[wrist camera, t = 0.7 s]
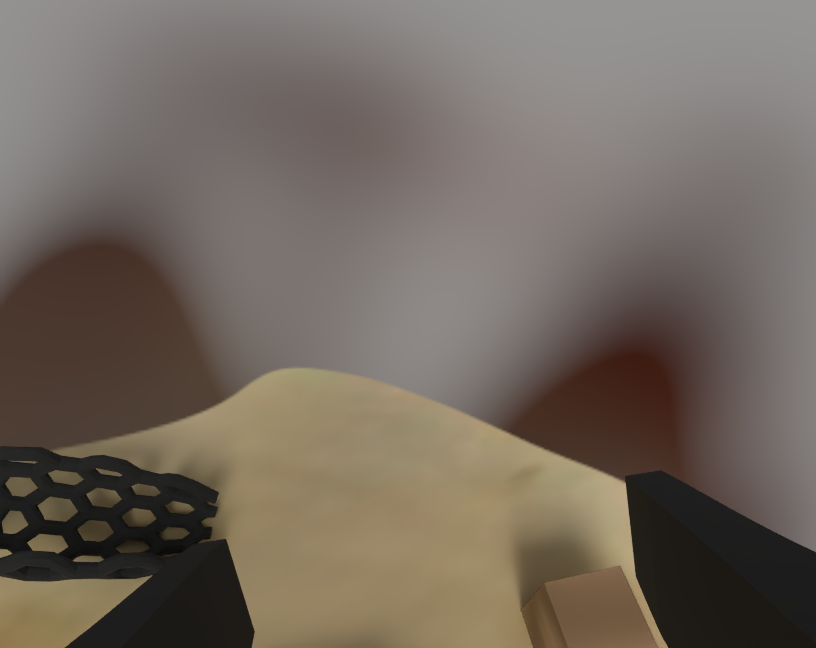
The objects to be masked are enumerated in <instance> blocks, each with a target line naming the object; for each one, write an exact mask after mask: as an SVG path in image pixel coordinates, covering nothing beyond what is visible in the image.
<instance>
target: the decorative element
mask: <svg viewBox="0 0 816 648" xmlns="http://www.w3.org/2000/svg"><path fill="white" fill-rule="evenodd" d="M7 460H9V461H7ZM11 461H36V462H38V463H35V464H33V463H22V462H11ZM95 468H98V469H104V470H109V471H115V472H118V473H120V474H122V475H123V476H120V477H119V476H111V475H104V474H100V473H99V472H98V471H97V470H96V469H95ZM54 470H59V471H68V472H76V473H78V474H79V475H80V476H81V477H82V478H83V479H84V480H83V481H81V482H79V483H78V484H76V485H68V484H62V483H57V482H54V481H53V480H52V479H51V477H50V476H49V474H48V473H49V472H52V471H54ZM10 477H24V478H31V479H32V481H33V482H34V483H35V485H36V486H37V487H38V489H36V490H35V491H33V492H32V493H30V494H28V495H27V496H25V497H19V496H12V494H11V493H10V491H9V489H8V488H7V486H6V485H5V483H6V482H7V481H8V479H9V478H10ZM138 483H140V484H145V485H150V486H155V487H156V488H157V489H158V490H159V491H160V492H161V493H160V494H159V495H157V496H155V497H154V496H145V495H136V494H135V492H134V490H133V489H132V487H131V486H133V485H135V484H138ZM97 487H98V488H104V489H109V490H115V491H116V492H117V493H118V495H119V496H120V497H121V499H122V500H121V501H120V502H118V503H117V504H115V505H114V506H113V507H111V508H108V507H98V506H93V505H92V503H91V502H90V500H89V498H88V497H87V495H86V494H87V493H89V492H91V491H92V490H94V489H95V488H97ZM218 494H219V492H217V491H215V490H213V489H211V488H209V487H207V486H205V485H203V484H201V483H199V482H197V481H195V480H192V479H190V478H187V477H184V476H182V475H179V474H172V473H165V474H158V473H154V472H149V471H145V470H141V469H140V468H138V467H137V466H135V465H133V464H132V463H130V462H128V461H127V460H123V459H119V458H114V457H110V456H105V455H95V456H88V457H85V458H74V457H67V456H61V455H58V454H56V453H54V452H51V451H49V450H47V449H44V448H41V447H6V446H5V447H4V446H2V447H0V549H8V550H9V551H10V552H11V553H12V554H11V555H8V556H5V557H2V558H0V576H2V577H7V578H13V579H18V580H23V581H60V580H68V579H136V578H141V577H146V576H150V575H154V574H156V573H157V572H158V571H159V570H160V569H162V568H163V567H164V566H165V565H167V564H168V563H169V562H170V561H171V560H173V559H174V558H175V557H177V556H178V555H177V556H170V557H161V556H162V555H164V554H173V553H182V552H183V551H185V550H186V549H187V548H189V547H190V546H192V545H193V544H197V543H198V542H199V541H201V540H202V539H210V537H211V531H212V527H203V526H202V524H201V523H200V521H202V520H204V519H206V518H209V517H215V515H216V511H217V507H215V506H212V505H210V504H208V503H207V502H212V503H214V504H215V502H216V500H217V497H218ZM50 496H51V497H58V498H64V499H70V500H71V502H72V503H73V504H74V506H75V507H76V509H77V510H78V513H76V514H75V515H74V516H72V517H71V518H70V519H69V520H67V521H66V522H63V521H52V520H45V519H44V517H43V515H42V513H41V511H40V510H39V508H38V506H37V505H38V504H40V503H41V502H43V501H44V500H46V499H47V498H49V497H50ZM172 501H177V502H181V503H186V504H189V505H191V506H192V507H193V508H194V509H195V510H194V511H192V512H191V513H189V514H176V513H170V512H169V511H168V509H167V508H166V507H165V505H167V504H168V503H170V502H172ZM132 508H138V509H146V510H151V512H152V513H153V514H154V516H155V517H156V520H155V521H154V522H152V523H151V524H149V525H148V526H146V527H132V526H128V525H127V524H126V523H125V521H124V520H123V518H122V515H124V514H125V513H127V512H128V511H129V510H131V509H132ZM10 510H12V511H21V513H22V514H23V516H24V518H25V520H26V521H27V523H28V526H27V527H25V528H24V529H22V530H21V531H19V532H18V533H16V534H6V533H3V528H2V521H3V519H4V518H5V517H6V515H7V514H8V513H9V511H10ZM89 520H96V521H106V522H108V524H109V525H110V527H111V529H112V530H113V532H114V533H113V534H112V535H111V536H109V537H108V538H107V539H105V540H103V541H100V542H97V541H84V540H83V539H82V537H81V535H80V534H79V532H78V530H77V529H78V528H79V527H81V526H82V525H83V524H84V523H86V522H87V521H89ZM167 527H179V528H185V529H186V530H187V531H188V532H190V534H189V535H187V536H186V537H184V538H183V539H178V540H165V541H164V540H163V539H162V538H161V537H160V536H159V535H158V534H159V533H160V532H161V531H163V530H164V529H165V528H167ZM39 534H49V535H60V536H63V538H64V540H65V542H66V543H67V545H68V548H66V549H65V550H63V551H61V552H60V553H58V554H57V553H55V552H45V551H32V549H31V548H30V546H29V545H28V544H27V542H29V541H30V540H31V539H33V538H34V537H36V536H37V535H39ZM125 540H135V541H144V542H145V543H146V544H147V545H148V546H149V547H150V548H149V549H148V550H146V551H144V552H137V553H120V552H119V551H118V550H117V549H116V548H117V547H118V546H119V545H120V544H121V543H122V542H123V541H125ZM79 556H101V557H102V558H103V559H104V560H102V561H100V562H74V561H73V560H74V559H75V558H77V557H79Z"/></svg>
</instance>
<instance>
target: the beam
mask: <svg viewBox="0 0 816 648" xmlns="http://www.w3.org/2000/svg"><path fill="white" fill-rule="evenodd" d="M521 612H522V615H523V618H524V621H525V624H526V627H527V630H528V633H529V636H530V639H531V642H532V645H533V648H658V646H657V644H656V642H655V640H654V638H653V635H652V633H651V631H650V629H649V627H648V624H647V622H646V620H645V618H644V616H643V614H642V611H641V609H640V607H639V605H638V603H637V601H636V598H635V596H634V594H633V592H632V590H631V588H630V585H629V583H628V581H627V579H626V577H625V575H624V572H623V570H622V568H621V566H617V567H613V568H608V569H604V570H599V571H595V572H590V573H586V574H581V575H577V576H572V577H568V578H563V579H559V580H554V581H550V582H545V583H544V584H543V585H542V586H541V587H540V588H539V589H538V591H537V592H536V593H535V594H534V595H533V597H532V598H531V599H530V600H529V601H528V602H527V604H526V605H525V606H524V607H523V608H522V609H521Z"/></svg>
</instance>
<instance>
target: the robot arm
mask: <svg viewBox="0 0 816 648" xmlns="http://www.w3.org/2000/svg"><path fill="white" fill-rule="evenodd" d="M625 480H626V489H627V498H628V507H629V517H630V526H631V535H632V544H633V554H634V563H635V572H636V578H637V580H638V582H639V585H640V587H641V590H642V592H643V594H644V597H645V599H646V602H647V604H648V606H649V609H650V611H651V613H652V615H653V618H654V620H655V622H656V625H657V627H658V629H659V631H660V633H661V635H662V637H663V639H664V641H665V642H666V644H667V646H668V648H816V552H814V551H812V550H810V549H808V548H806V547H803V546H801V545H799V544H797V543H795V542H793V541H791V540H789V539H787V538H785V537H783V536H781V535H779V534H777V533H775V532H773V531H771V530H769V529H767V528H766V527H764V526H762V525H760V524H758V523H756V522H754V521H752V520H750V519H748V518H747V517H745V516H743V515H741V514H739V513H737V512H735V511H734V510H732V509H730V508H728V507H727V506H725V505H723V504H721V503H719V502H718V501H715V500H714V499H712V498H710V497H709V496H707V495H705V494H703V493H702V492H699V491H698V490H696V489H694V488H693V487H691V486H689V485H687V484H685V483H684V482H682V481H680V480H678V479H676V478H674V477H673V476H671V475H669V474H667V473H665V472H663V471H655V472H648V473H642V474H635V475H629V476H625ZM254 633H255V631H254V628H253V625H252V622H251V618H250V615H249V612H248V609H247V605H246V602H245V599H244V596H243V593H242V589H241V586H240V583H239V580H238V576H237V573H236V570H235V567H234V563H233V560H232V557H231V554H230V550H229V547H228V544H227V541H226V539H222V540H216V541H210V542H203V543H197V544H193V545H192V546H190V547H189V548H187V549H186V550H185V551H183V552H182V553H181V554H179V555H178V556H177V557H175V558H174V559H173V560H171V561H170V562H169V563H168V564H167V565H165V566H164V567H163V568H162V569H160V570H159V571H158V572H157V573H156V574H154V575H153V576H152V577H151V578H149V579H148V580H147V581H146V582H145V583H143V584H142V585H141V586H140V587H139V588H138V589H136V590H135V591H134V592H133V593H132V594H130V595H129V596H128V597H127V598H126V599H124V600H123V601H122V602H121V603H120V604H118V605H117V606H116V607H115V608H114V609H112V610H111V611H110V612H109V613H108V614H106V615H105V616H104V617H103V618H102V619H100V620H99V621H98V622H97V623H95V624H94V625H93V626H92V627H91V628H89V629H88V630H87V631H85V632H84V633H83V634H82V635H80V636H79V637H78V638H77V639H75V640H74V641H73V642H71V643H70V644H69V645H68V646H66V647H65V648H252V643H253V638H254Z"/></svg>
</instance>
